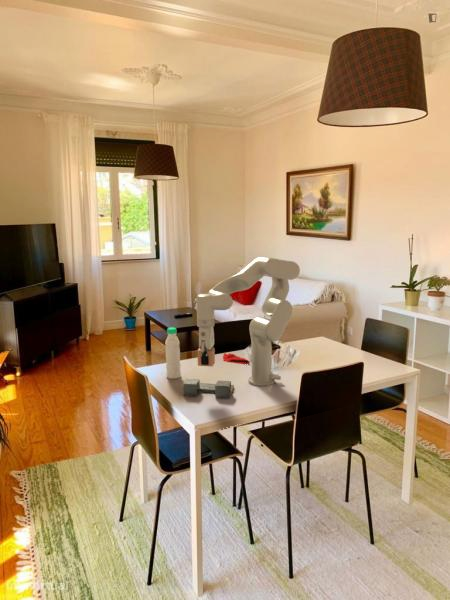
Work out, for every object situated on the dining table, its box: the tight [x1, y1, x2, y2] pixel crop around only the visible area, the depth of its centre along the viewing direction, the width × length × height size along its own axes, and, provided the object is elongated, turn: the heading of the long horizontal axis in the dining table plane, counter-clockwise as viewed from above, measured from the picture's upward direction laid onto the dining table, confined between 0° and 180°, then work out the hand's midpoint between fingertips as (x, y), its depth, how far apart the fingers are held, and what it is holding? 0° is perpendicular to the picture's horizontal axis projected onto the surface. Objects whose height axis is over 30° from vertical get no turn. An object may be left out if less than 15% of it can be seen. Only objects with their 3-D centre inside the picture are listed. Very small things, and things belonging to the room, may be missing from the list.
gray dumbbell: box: [181, 378, 235, 400], centre depth 206 cm, size 22×13×6 cm, turn 79°
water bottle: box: [164, 327, 182, 380], centre depth 225 cm, size 7×7×25 cm
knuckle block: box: [197, 347, 216, 367], centre depth 200 cm, size 6×5×7 cm
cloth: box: [222, 352, 251, 366], centre depth 253 cm, size 26×14×2 cm, turn 21°
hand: (206, 362), depth 201 cm, fingers closed on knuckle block, 5 cm apart
